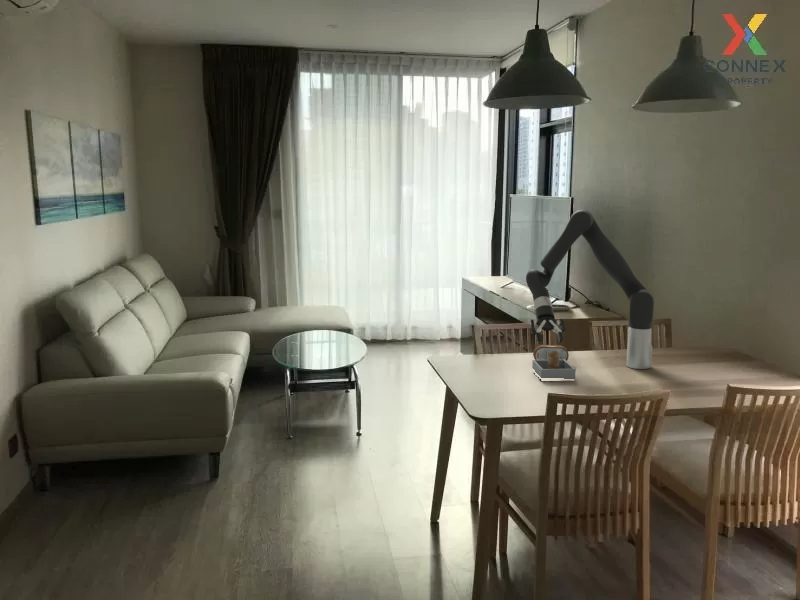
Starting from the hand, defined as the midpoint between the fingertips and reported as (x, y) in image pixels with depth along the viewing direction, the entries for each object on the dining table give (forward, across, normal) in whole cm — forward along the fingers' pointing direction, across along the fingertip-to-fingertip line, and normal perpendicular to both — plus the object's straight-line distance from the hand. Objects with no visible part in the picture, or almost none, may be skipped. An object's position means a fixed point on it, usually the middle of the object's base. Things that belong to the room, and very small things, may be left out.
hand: (550, 341), depth 262 cm
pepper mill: (+13, 0, +4) cm, 14 cm away
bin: (+14, 0, +5) cm, 14 cm away
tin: (+1, +4, +18) cm, 19 cm away
